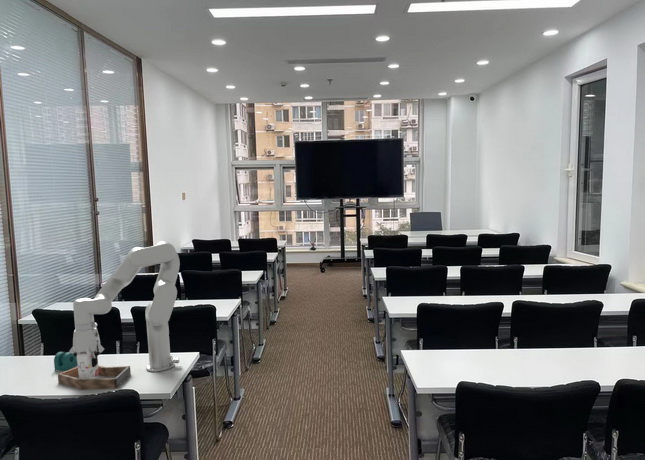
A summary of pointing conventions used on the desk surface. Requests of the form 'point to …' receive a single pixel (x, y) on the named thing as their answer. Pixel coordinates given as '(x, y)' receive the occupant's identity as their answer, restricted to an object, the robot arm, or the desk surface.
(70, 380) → the brown angled open frame
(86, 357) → the ink cartridge box
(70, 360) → the bracket
